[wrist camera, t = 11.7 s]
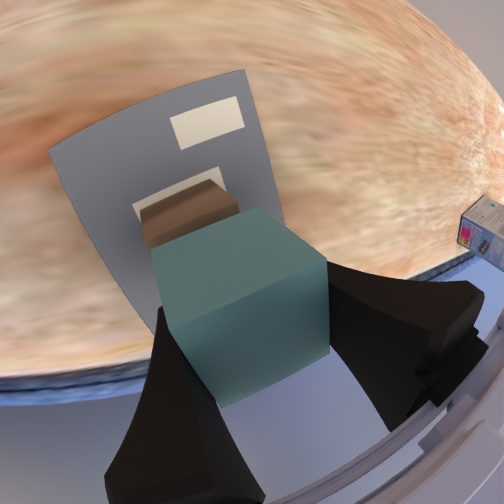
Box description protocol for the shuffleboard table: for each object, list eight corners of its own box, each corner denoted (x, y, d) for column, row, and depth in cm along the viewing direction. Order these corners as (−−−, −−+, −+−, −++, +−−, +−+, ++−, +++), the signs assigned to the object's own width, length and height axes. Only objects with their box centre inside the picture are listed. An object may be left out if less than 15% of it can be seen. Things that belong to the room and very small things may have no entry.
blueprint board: (50, 148, 12) (47, 150, 11) (240, 70, 14) (244, 69, 14) (160, 339, 21) (161, 345, 20) (293, 274, 23) (296, 278, 23)
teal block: (150, 249, 10) (168, 329, 6) (258, 206, 11) (326, 258, 8) (189, 329, 13) (221, 408, 9) (276, 290, 14) (329, 353, 10)
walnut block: (139, 210, 15) (143, 242, 12) (209, 178, 16) (236, 199, 13) (169, 269, 18) (183, 312, 14) (231, 240, 19) (260, 275, 15)
